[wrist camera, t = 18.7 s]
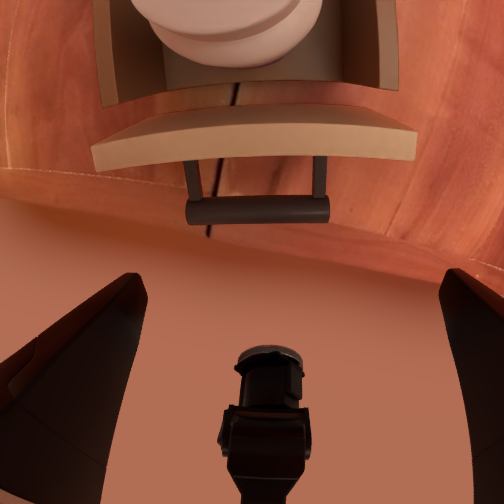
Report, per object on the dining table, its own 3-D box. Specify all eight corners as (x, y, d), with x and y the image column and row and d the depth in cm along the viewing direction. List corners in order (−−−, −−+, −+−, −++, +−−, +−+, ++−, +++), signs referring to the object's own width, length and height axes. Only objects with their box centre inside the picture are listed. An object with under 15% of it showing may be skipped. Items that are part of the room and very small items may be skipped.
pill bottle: (181, 8, 10) (71, -42, 3) (274, -31, 9) (271, -135, 1) (225, 86, 13) (153, 109, 5) (319, 49, 12) (388, 18, 4)
